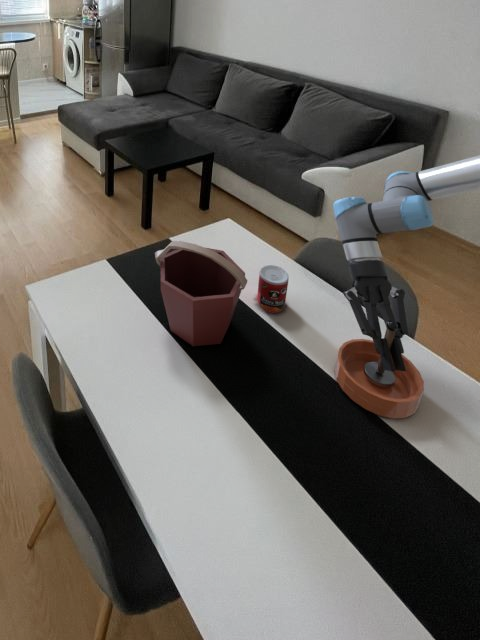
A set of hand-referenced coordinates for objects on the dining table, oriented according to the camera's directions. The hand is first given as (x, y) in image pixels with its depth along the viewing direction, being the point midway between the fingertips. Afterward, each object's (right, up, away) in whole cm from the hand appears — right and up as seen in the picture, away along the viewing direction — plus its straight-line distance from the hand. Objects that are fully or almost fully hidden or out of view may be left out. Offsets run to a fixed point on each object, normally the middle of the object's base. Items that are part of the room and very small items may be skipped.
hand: (395, 370), depth 95 cm
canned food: (-14, +2, +32) cm, 35 cm away
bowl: (-1, -7, +6) cm, 9 cm away
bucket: (-36, -1, +28) cm, 46 cm away
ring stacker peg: (+1, -5, +6) cm, 8 cm away
